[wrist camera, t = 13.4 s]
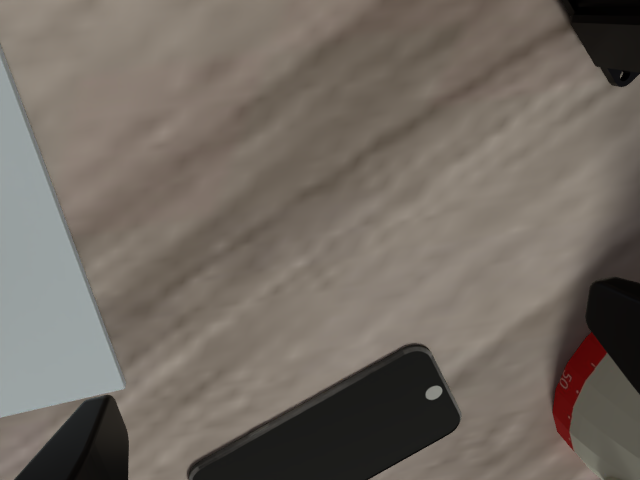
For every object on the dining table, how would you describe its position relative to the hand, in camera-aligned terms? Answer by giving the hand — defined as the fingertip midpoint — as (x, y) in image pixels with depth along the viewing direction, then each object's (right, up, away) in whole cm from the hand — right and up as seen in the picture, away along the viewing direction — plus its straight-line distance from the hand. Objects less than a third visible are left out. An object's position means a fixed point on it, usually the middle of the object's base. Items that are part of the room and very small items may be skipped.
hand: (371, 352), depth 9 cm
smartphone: (0, -10, +20) cm, 22 cm away
